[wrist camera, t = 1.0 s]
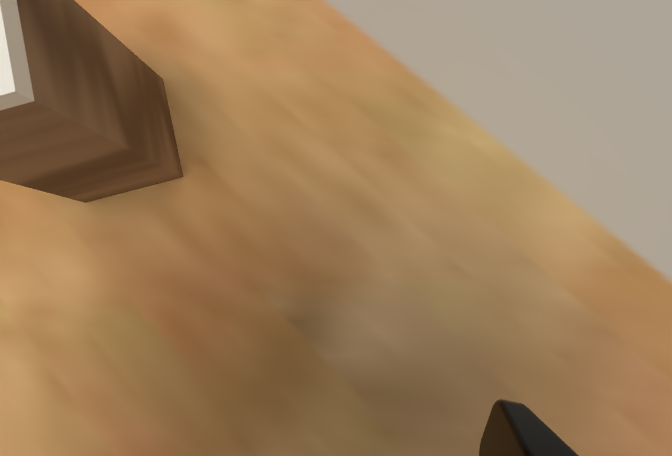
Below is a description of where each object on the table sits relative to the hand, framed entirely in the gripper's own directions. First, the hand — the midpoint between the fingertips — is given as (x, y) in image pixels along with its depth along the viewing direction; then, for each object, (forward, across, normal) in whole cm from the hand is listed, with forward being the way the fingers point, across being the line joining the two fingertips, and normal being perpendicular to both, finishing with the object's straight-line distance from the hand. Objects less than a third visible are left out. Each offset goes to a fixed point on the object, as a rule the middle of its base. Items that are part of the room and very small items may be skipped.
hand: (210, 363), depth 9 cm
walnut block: (+19, +10, +2) cm, 21 cm away
